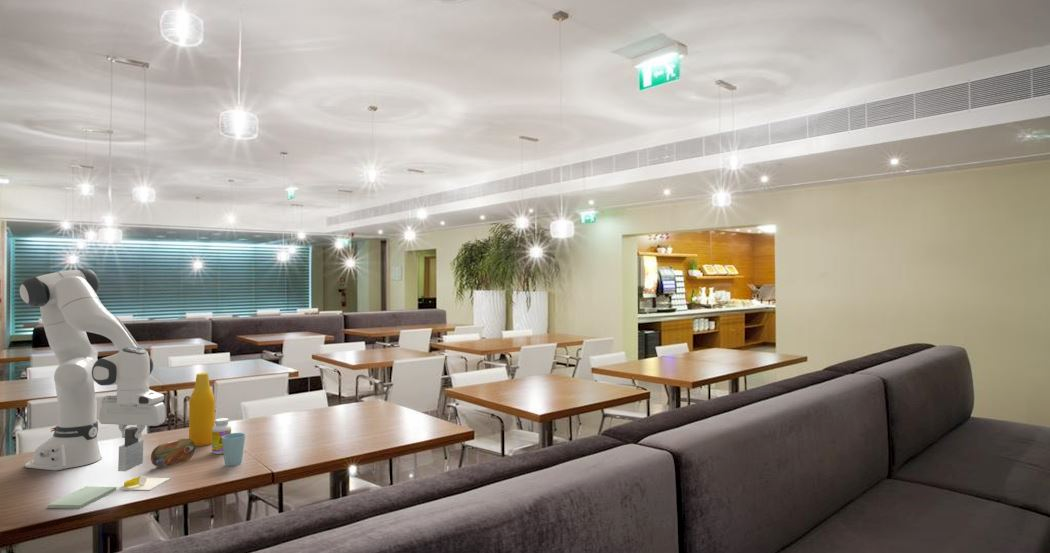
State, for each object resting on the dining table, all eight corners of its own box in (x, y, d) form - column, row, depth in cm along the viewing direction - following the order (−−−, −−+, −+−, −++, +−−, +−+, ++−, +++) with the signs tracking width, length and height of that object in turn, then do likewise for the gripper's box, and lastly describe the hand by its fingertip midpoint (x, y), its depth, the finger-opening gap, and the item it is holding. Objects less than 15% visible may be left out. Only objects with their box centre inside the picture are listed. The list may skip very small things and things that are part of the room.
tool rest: (47, 507, 163) (47, 504, 163) (85, 489, 177) (85, 486, 177) (80, 508, 163) (80, 505, 163) (116, 490, 177) (116, 486, 177)
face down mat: (122, 490, 177) (122, 489, 177) (144, 478, 187) (144, 477, 187) (149, 490, 177) (149, 489, 177) (170, 479, 187) (170, 478, 187)
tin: (154, 470, 195) (154, 447, 195) (149, 469, 196) (149, 446, 196) (195, 458, 208) (195, 436, 208) (190, 457, 210) (190, 435, 210)
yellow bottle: (208, 438, 233) (208, 370, 233) (218, 442, 227) (219, 373, 227) (184, 443, 225) (185, 373, 225) (194, 448, 220) (195, 376, 220)
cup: (216, 466, 200) (217, 438, 200) (230, 459, 207) (231, 432, 207) (235, 467, 199) (236, 439, 199) (249, 460, 206) (249, 433, 206)
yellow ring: (121, 489, 179) (134, 488, 178) (119, 481, 179) (132, 480, 178) (138, 482, 185) (151, 481, 183) (137, 474, 185) (150, 473, 183)
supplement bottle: (217, 455, 212) (217, 422, 211) (208, 452, 215) (208, 419, 215) (234, 451, 217) (234, 418, 217) (225, 448, 221) (225, 416, 221)
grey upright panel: (118, 471, 179) (119, 431, 179) (135, 463, 187) (137, 424, 187) (125, 471, 179) (126, 431, 179) (142, 463, 187) (144, 425, 187)
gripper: (94, 397, 180) (93, 439, 179) (156, 399, 179) (155, 441, 179) (109, 393, 186) (108, 434, 186) (169, 395, 186) (167, 435, 186)
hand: (131, 437), depth 183 cm, fingers closed on grey upright panel, 2 cm apart
